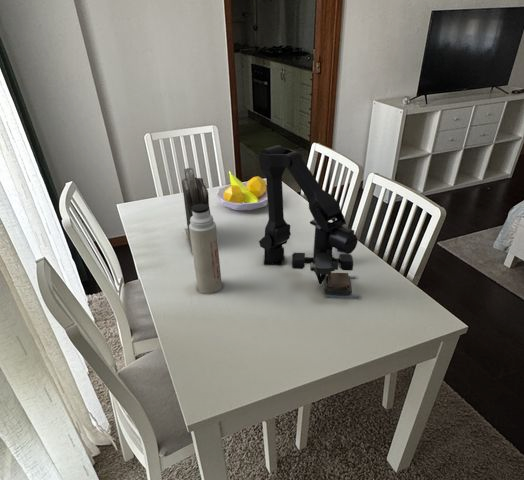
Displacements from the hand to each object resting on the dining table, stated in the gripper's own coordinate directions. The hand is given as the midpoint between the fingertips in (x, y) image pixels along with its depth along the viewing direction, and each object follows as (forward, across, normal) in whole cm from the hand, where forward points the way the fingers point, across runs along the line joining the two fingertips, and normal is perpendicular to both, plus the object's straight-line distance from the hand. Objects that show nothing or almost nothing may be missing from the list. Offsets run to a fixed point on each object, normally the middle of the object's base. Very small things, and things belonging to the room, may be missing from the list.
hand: (320, 283), depth 133 cm
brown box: (+1, +6, 0) cm, 6 cm away
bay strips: (+1, +7, 0) cm, 7 cm away
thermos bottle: (+2, -36, -2) cm, 36 cm away
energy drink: (+1, +8, +16) cm, 18 cm away
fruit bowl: (+1, -33, +67) cm, 75 cm away
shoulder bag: (+2, -46, +31) cm, 56 cm away
